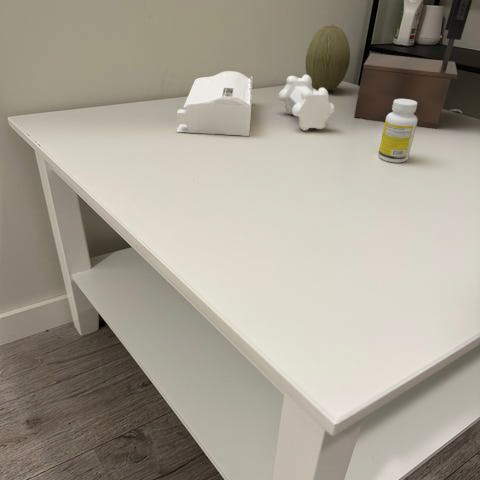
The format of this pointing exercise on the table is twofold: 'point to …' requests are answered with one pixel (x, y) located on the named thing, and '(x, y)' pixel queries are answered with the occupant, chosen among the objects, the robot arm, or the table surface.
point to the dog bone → (306, 102)
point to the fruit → (328, 58)
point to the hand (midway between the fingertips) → (452, 34)
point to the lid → (414, 64)
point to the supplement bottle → (398, 131)
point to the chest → (401, 95)
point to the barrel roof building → (218, 105)
